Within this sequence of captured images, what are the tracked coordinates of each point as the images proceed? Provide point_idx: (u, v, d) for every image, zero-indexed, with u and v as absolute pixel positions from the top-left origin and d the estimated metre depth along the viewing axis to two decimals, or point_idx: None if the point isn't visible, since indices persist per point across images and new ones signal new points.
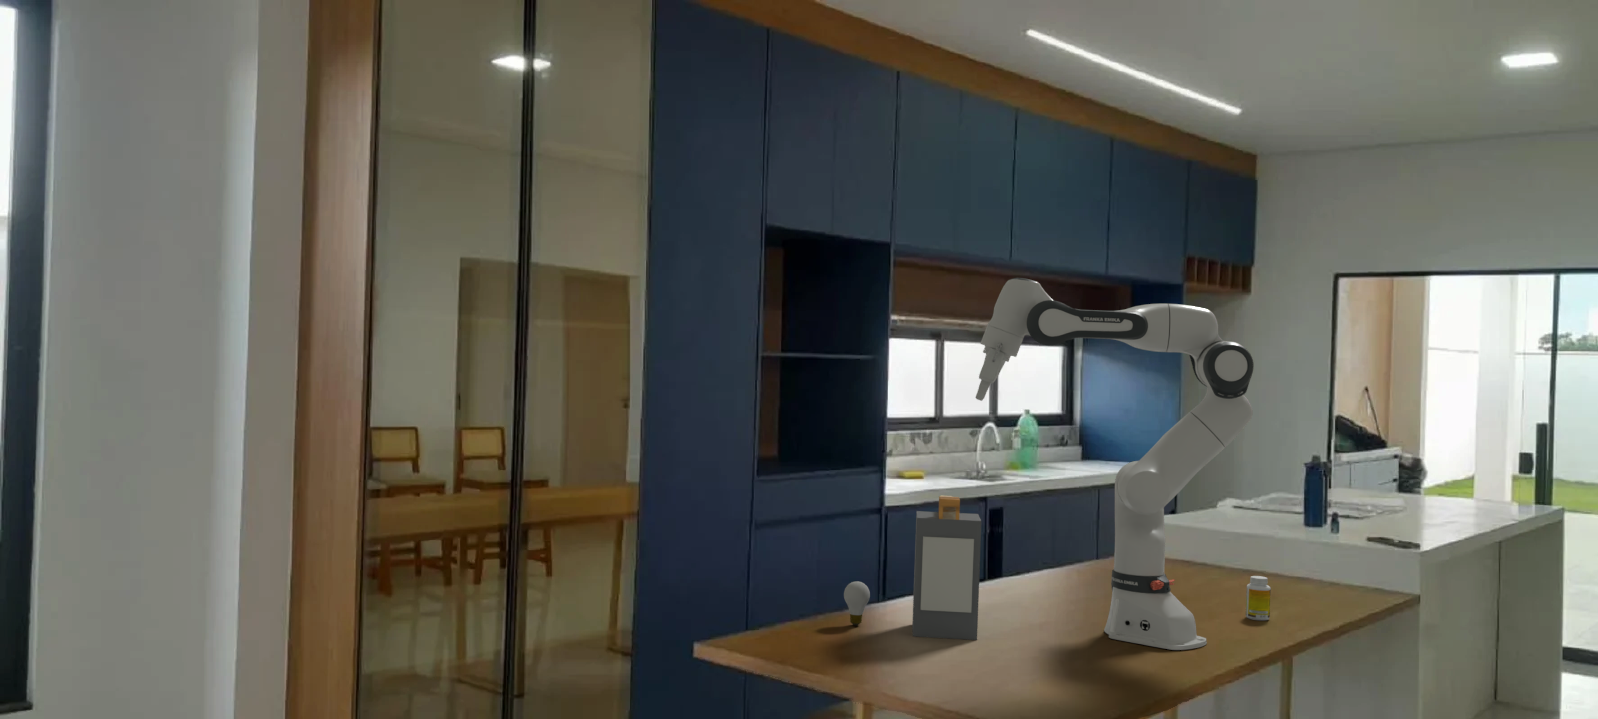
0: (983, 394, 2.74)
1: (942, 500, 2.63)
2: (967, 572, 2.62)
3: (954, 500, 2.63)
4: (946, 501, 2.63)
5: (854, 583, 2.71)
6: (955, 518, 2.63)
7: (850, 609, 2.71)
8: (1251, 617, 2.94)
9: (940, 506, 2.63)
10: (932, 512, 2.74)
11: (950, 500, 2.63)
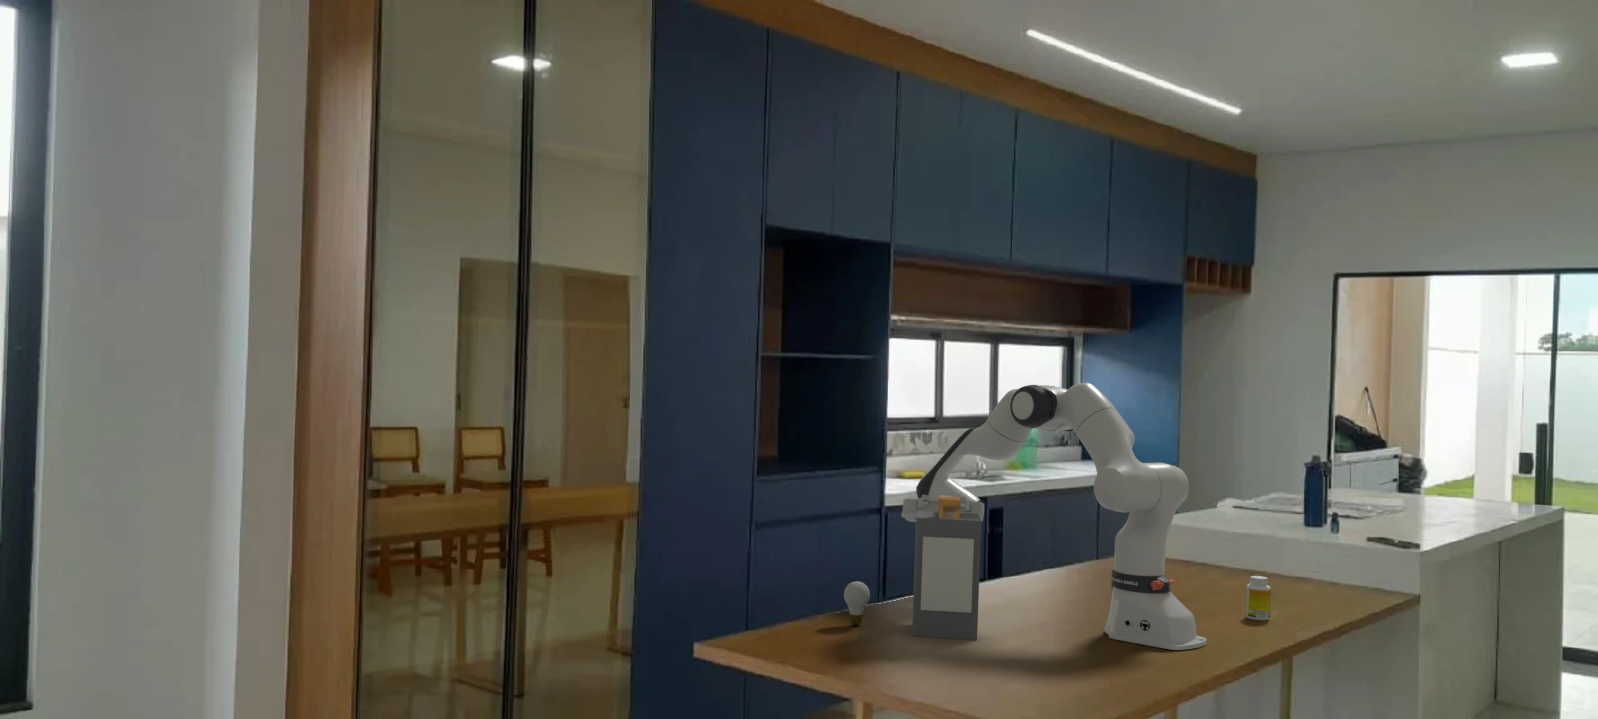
0: (922, 497, 2.97)
1: (942, 500, 2.63)
2: (967, 572, 2.62)
3: (954, 500, 2.63)
4: (946, 501, 2.63)
5: (854, 583, 2.71)
6: (955, 518, 2.63)
7: (850, 609, 2.71)
8: (1251, 617, 2.94)
9: (940, 506, 2.63)
10: (932, 512, 2.74)
11: (950, 500, 2.63)
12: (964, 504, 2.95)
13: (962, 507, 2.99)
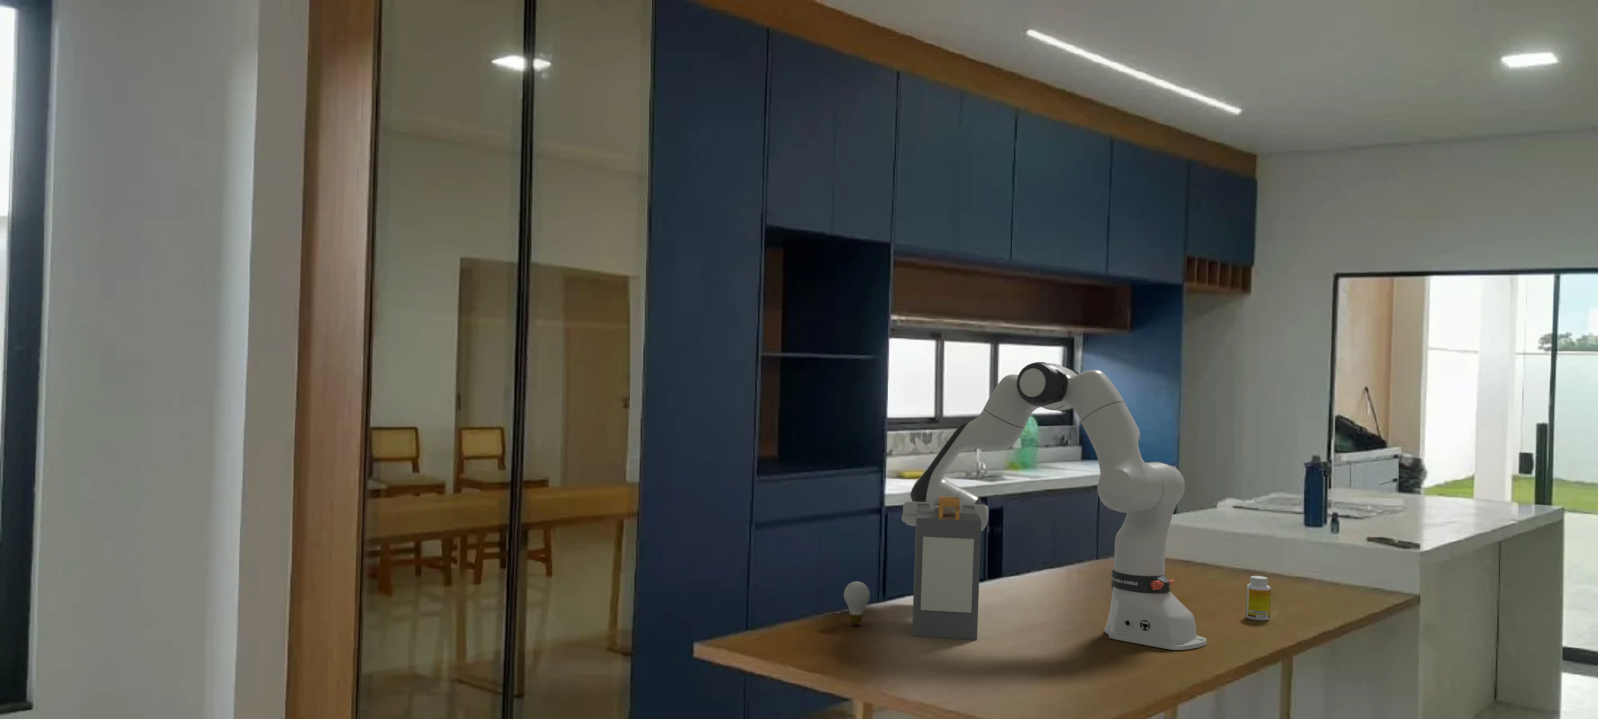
0: (934, 501, 2.82)
1: (942, 500, 2.63)
2: (967, 572, 2.62)
3: (954, 500, 2.63)
4: (946, 501, 2.63)
5: (854, 583, 2.71)
6: (955, 518, 2.63)
7: (850, 609, 2.71)
8: (1251, 617, 2.94)
9: (940, 506, 2.63)
10: (932, 512, 2.74)
11: (950, 500, 2.63)
12: None
13: None
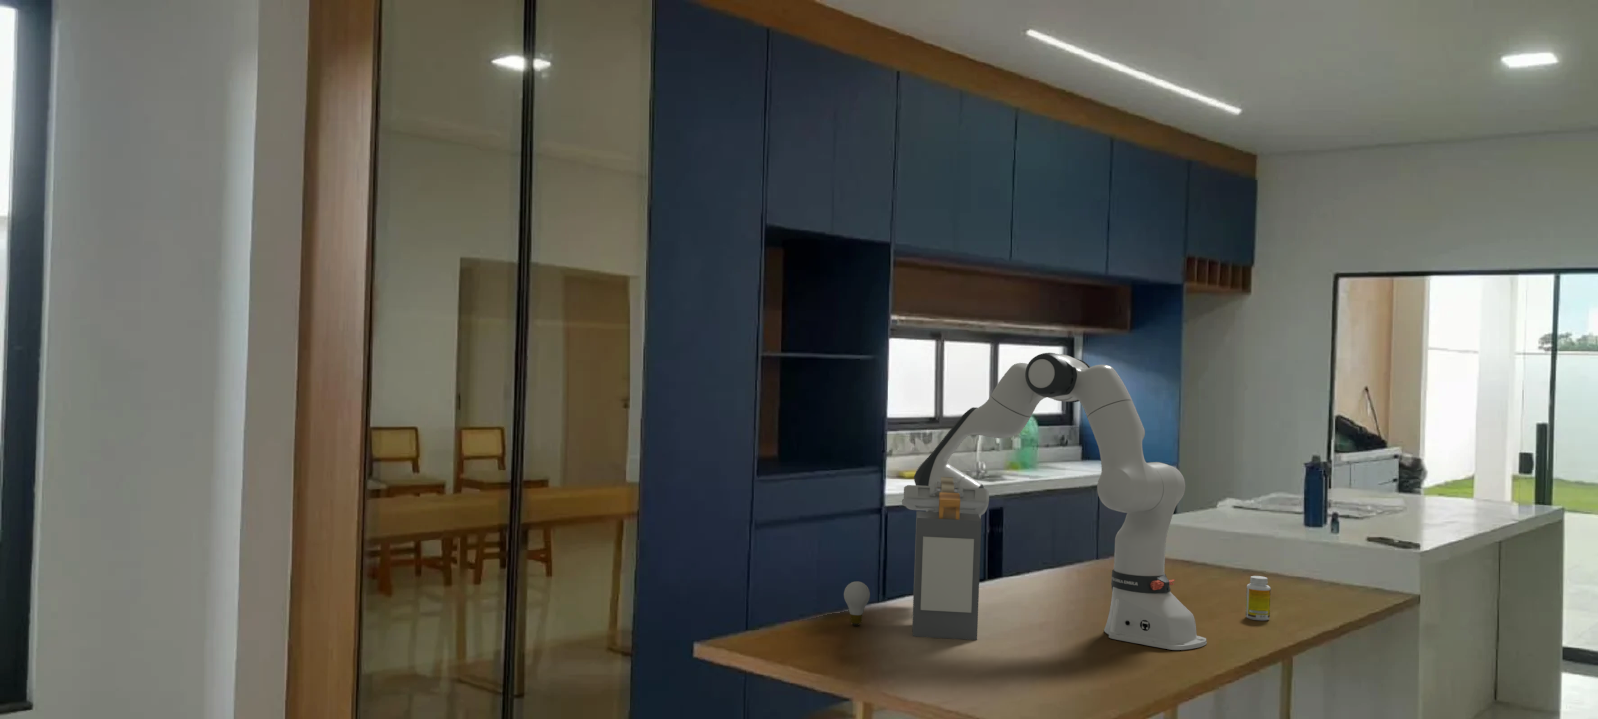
0: (934, 484, 2.82)
1: (942, 501, 2.63)
2: (967, 572, 2.62)
3: (954, 501, 2.62)
4: (946, 501, 2.63)
5: (854, 583, 2.71)
6: (955, 518, 2.63)
7: (850, 609, 2.71)
8: (1251, 617, 2.94)
9: (940, 506, 2.63)
10: (932, 512, 2.74)
11: (950, 501, 2.62)
12: (957, 490, 2.80)
13: None
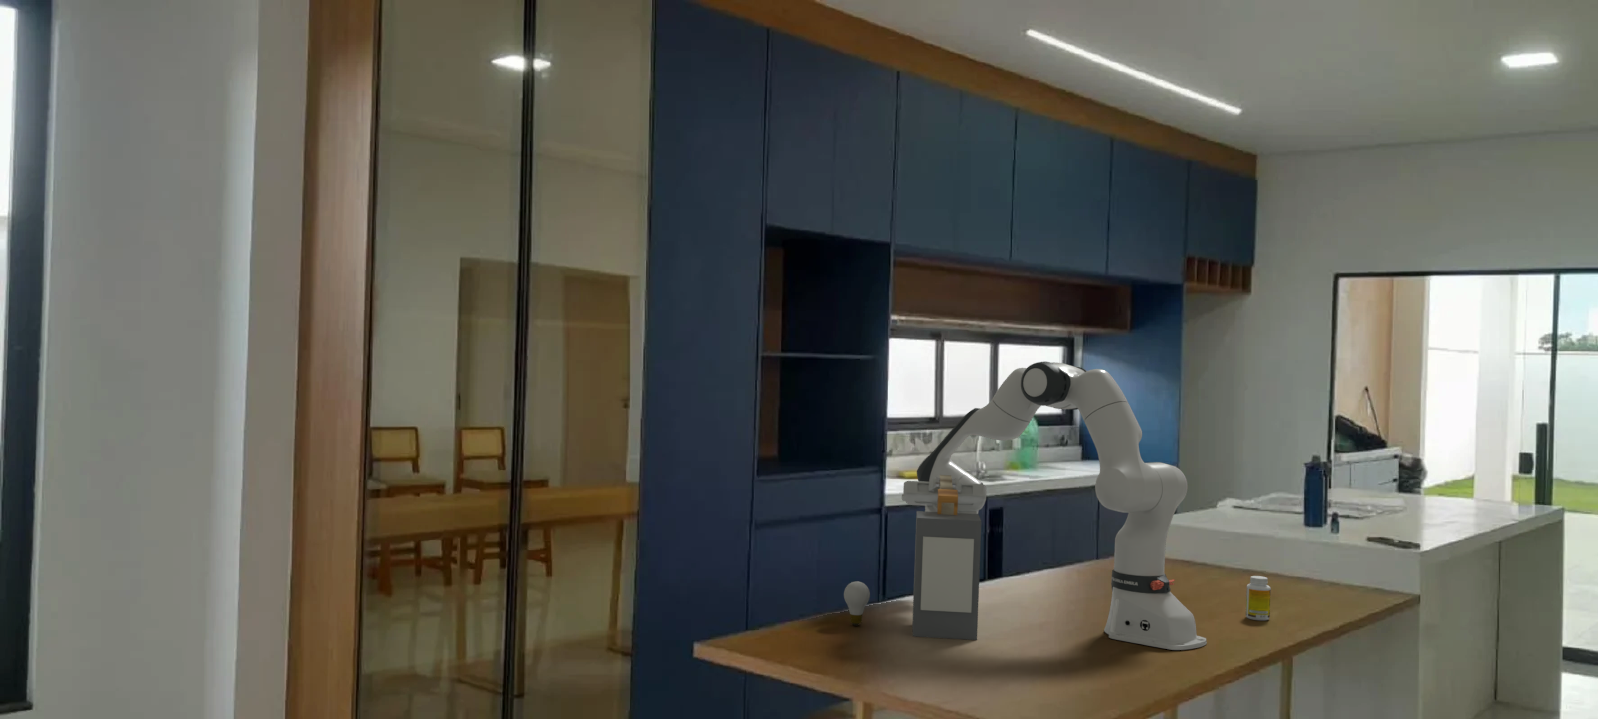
0: (933, 480, 2.90)
1: (941, 497, 2.70)
2: (967, 572, 2.62)
3: (952, 497, 2.70)
4: (945, 497, 2.70)
5: (854, 583, 2.71)
6: (953, 513, 2.71)
7: (850, 609, 2.71)
8: (1251, 617, 2.94)
9: (939, 502, 2.70)
10: (932, 512, 2.74)
11: (948, 497, 2.70)
12: (955, 485, 2.88)
13: (953, 489, 2.92)
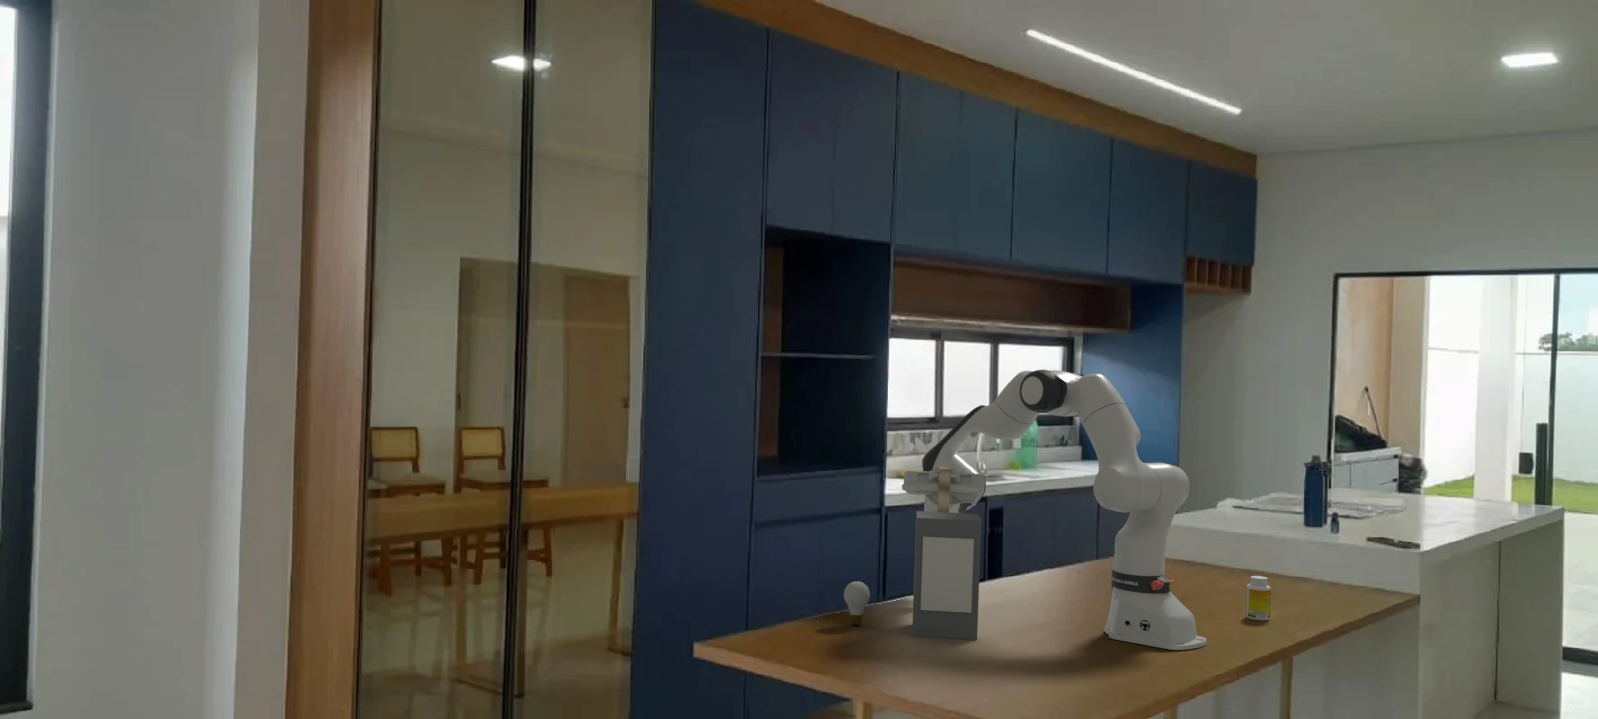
0: (933, 470, 2.98)
1: None
2: (967, 572, 2.62)
3: None
4: None
5: (854, 583, 2.71)
6: None
7: (850, 609, 2.71)
8: (1251, 617, 2.94)
9: None
10: (932, 512, 2.74)
11: None
12: (954, 475, 2.96)
13: (952, 478, 3.00)
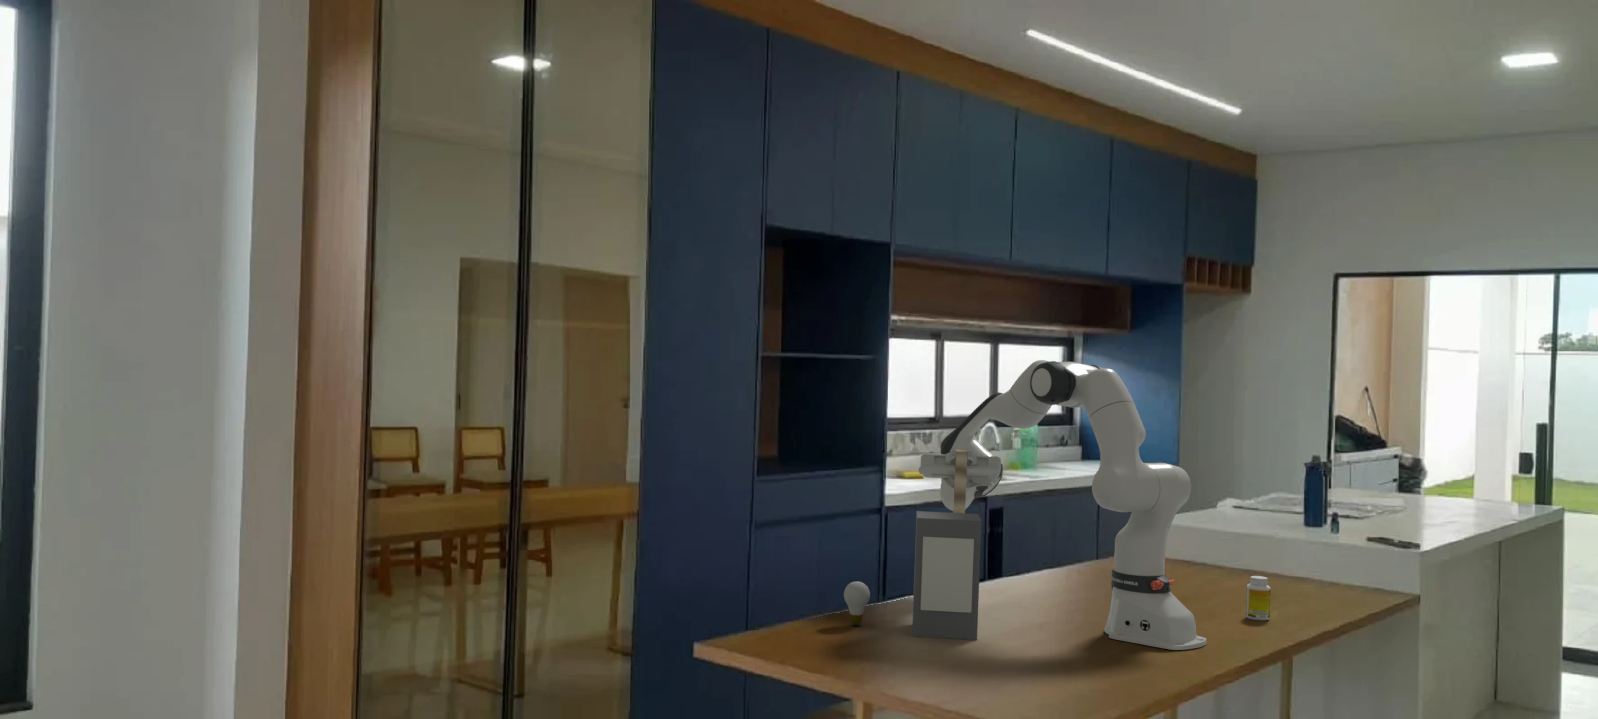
0: (950, 452, 3.00)
1: None
2: (967, 572, 2.62)
3: None
4: None
5: (854, 583, 2.71)
6: None
7: (850, 609, 2.71)
8: (1251, 617, 2.94)
9: None
10: (932, 512, 2.74)
11: None
12: (971, 457, 2.99)
13: (969, 461, 3.03)
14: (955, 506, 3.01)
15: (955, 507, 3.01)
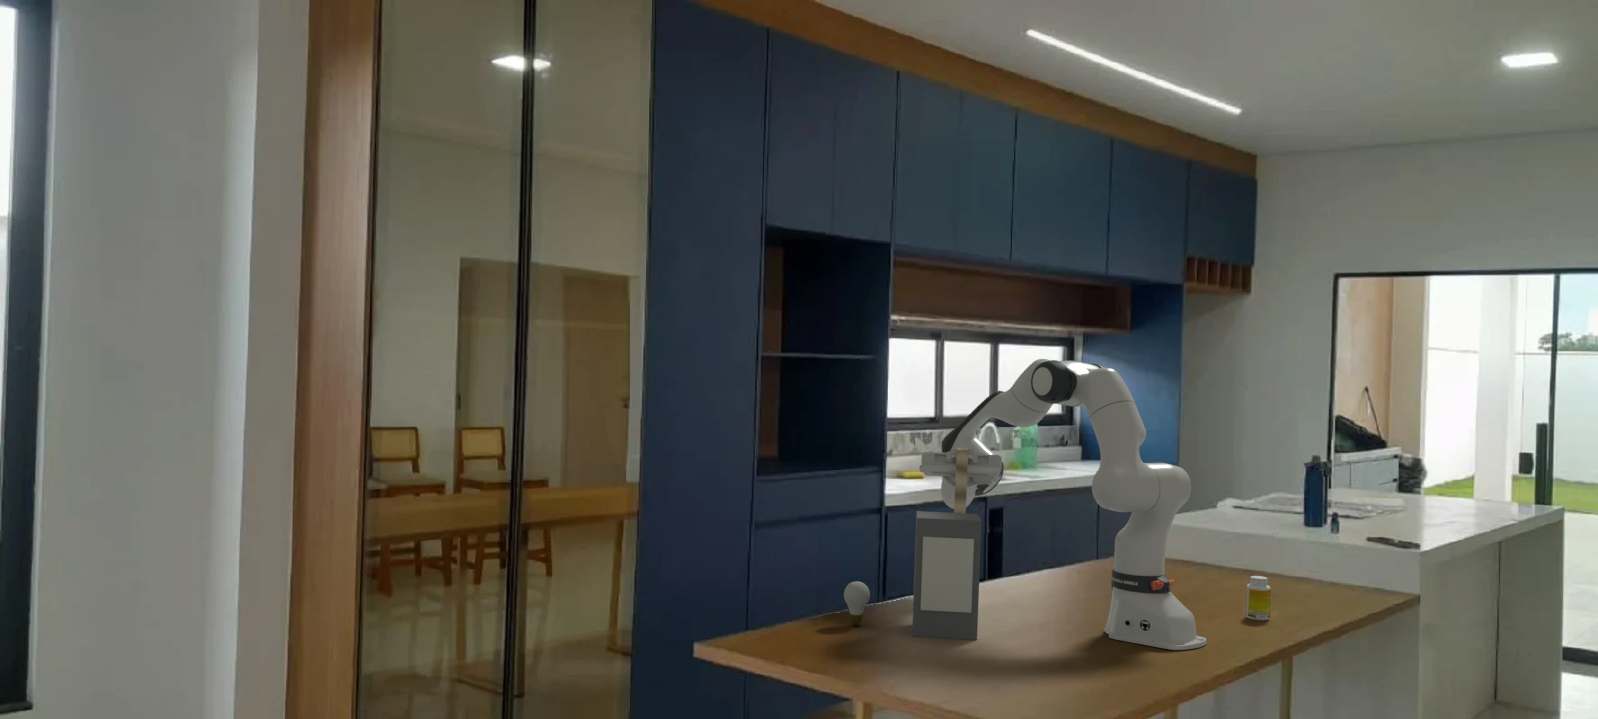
0: (950, 451, 3.00)
1: None
2: (967, 572, 2.62)
3: None
4: None
5: (854, 583, 2.71)
6: None
7: (850, 609, 2.71)
8: (1251, 617, 2.94)
9: None
10: (932, 512, 2.74)
11: None
12: (971, 456, 2.99)
13: (969, 459, 3.03)
14: (956, 504, 3.01)
15: (956, 505, 3.02)
